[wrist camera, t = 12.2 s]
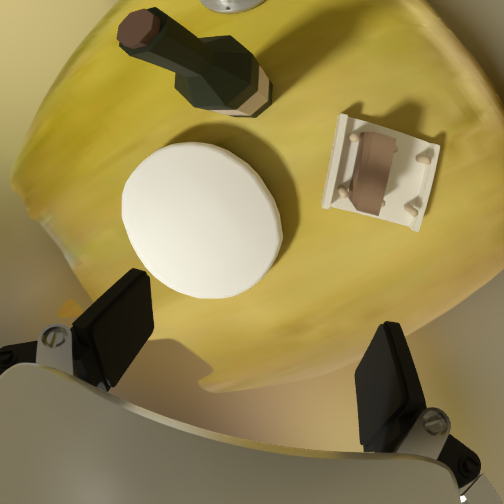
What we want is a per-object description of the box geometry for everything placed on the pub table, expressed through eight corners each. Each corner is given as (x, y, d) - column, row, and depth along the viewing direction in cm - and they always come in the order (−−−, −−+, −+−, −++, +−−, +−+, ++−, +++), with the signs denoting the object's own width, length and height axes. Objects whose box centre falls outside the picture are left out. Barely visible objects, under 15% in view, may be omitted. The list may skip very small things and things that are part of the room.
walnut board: (360, 132, 34) (373, 131, 27) (379, 138, 34) (396, 138, 27) (347, 196, 39) (356, 210, 32) (365, 201, 38) (378, 216, 31)
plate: (317, 245, 40) (202, 327, 50) (313, 227, 45) (210, 305, 56) (178, 105, 32) (90, 227, 43) (193, 105, 38) (109, 214, 48)
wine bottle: (283, 81, 35) (235, -23, 8) (259, 127, 38) (162, 112, 11) (234, 62, 35) (118, -28, 8) (211, 107, 38) (64, 82, 11)
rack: (337, 115, 35) (342, 112, 31) (430, 144, 34) (444, 146, 29) (321, 202, 41) (323, 210, 37) (411, 225, 40) (421, 235, 35)
